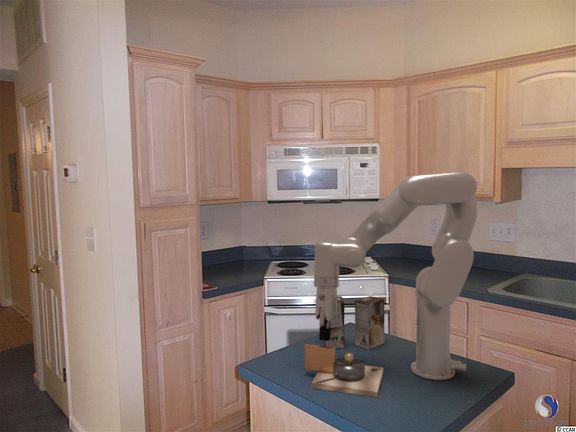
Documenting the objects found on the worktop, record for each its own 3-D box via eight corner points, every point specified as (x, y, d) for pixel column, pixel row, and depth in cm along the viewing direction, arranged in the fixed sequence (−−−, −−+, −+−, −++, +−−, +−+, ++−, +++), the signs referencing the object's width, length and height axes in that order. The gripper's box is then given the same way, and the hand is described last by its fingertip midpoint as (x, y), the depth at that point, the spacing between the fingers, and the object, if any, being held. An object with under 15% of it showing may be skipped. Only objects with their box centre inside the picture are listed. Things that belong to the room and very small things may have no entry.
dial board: (383, 372, 131) (383, 367, 131) (377, 397, 116) (377, 391, 116) (324, 365, 137) (324, 360, 137) (311, 388, 122) (311, 382, 122)
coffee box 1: (344, 348, 151) (345, 302, 150) (326, 348, 151) (326, 302, 150) (342, 339, 160) (342, 295, 159) (324, 339, 160) (324, 295, 159)
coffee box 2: (370, 338, 160) (370, 295, 159) (384, 343, 155) (385, 298, 154) (354, 345, 154) (354, 300, 153) (369, 350, 149) (369, 303, 148)
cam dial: (366, 369, 129) (366, 345, 129) (362, 382, 121) (362, 357, 120) (309, 362, 135) (309, 339, 134) (301, 374, 126) (301, 350, 126)
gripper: (333, 287, 125) (331, 350, 127) (343, 277, 140) (341, 333, 141) (308, 285, 128) (306, 346, 129) (320, 275, 142) (318, 330, 143)
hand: (324, 339), depth 135 cm, fingers closed
